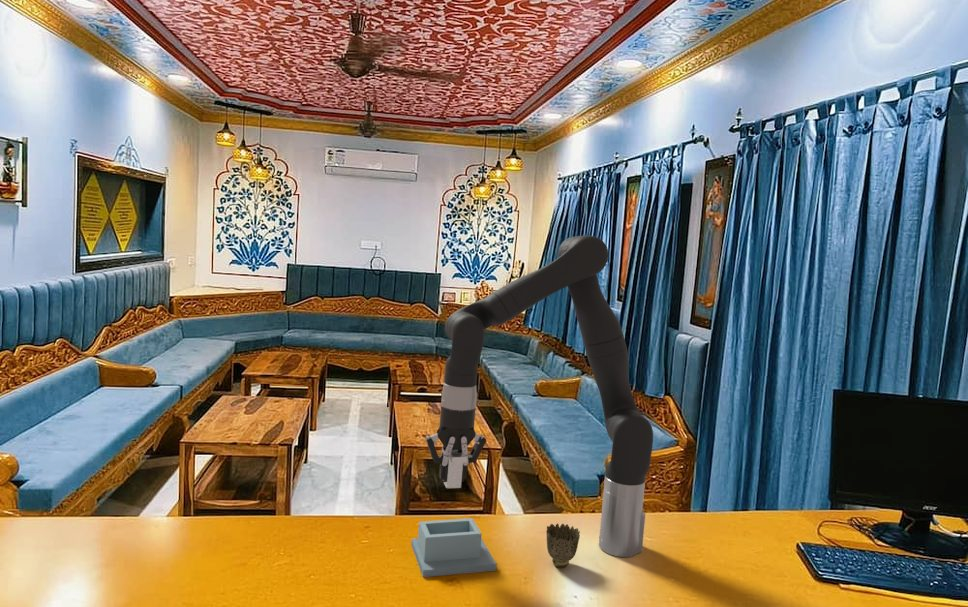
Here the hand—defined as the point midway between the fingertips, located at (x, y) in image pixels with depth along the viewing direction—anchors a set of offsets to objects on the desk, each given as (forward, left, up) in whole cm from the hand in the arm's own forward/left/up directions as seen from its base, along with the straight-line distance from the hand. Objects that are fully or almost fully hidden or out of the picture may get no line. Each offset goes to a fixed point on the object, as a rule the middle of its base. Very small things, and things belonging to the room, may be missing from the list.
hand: (452, 480), depth 141 cm
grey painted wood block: (0, +1, -1) cm, 2 cm away
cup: (-24, +7, -18) cm, 31 cm away
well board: (-1, 0, -18) cm, 18 cm away
